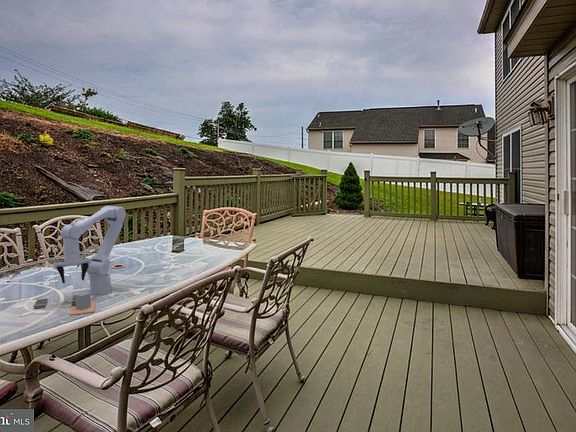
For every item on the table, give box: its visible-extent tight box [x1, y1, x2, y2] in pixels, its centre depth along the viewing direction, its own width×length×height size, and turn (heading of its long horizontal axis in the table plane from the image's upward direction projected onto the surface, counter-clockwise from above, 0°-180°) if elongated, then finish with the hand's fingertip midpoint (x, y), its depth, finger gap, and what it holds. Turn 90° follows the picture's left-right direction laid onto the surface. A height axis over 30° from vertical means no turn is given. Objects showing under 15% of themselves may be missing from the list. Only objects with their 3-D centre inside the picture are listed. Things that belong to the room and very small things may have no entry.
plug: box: [71, 291, 92, 310], centre depth 154 cm, size 4×8×6 cm, turn 72°
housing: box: [33, 294, 76, 310], centre depth 160 cm, size 18×8×2 cm, turn 116°
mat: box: [69, 300, 97, 317], centre depth 154 cm, size 9×13×1 cm
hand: (73, 281), depth 162 cm, fingers open, 7 cm apart
